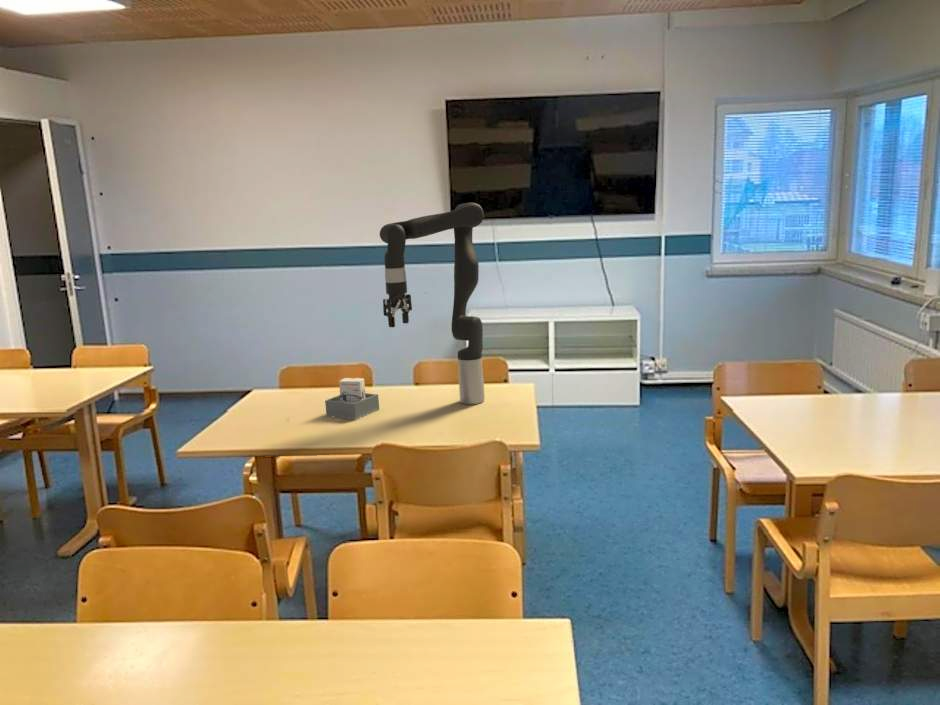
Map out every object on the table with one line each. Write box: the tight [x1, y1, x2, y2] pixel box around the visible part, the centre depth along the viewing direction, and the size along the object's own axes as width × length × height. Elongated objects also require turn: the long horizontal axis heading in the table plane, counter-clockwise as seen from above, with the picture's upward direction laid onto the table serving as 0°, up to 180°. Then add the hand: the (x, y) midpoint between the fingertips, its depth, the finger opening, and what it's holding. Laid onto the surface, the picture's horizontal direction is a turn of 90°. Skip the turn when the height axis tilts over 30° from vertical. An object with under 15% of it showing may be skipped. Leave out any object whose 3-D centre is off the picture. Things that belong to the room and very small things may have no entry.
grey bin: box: [324, 392, 380, 420], centre depth 275 cm, size 14×14×6 cm
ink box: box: [338, 377, 366, 403], centre depth 274 cm, size 9×5×12 cm, turn 78°
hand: (399, 325), depth 265 cm, fingers open, 8 cm apart
